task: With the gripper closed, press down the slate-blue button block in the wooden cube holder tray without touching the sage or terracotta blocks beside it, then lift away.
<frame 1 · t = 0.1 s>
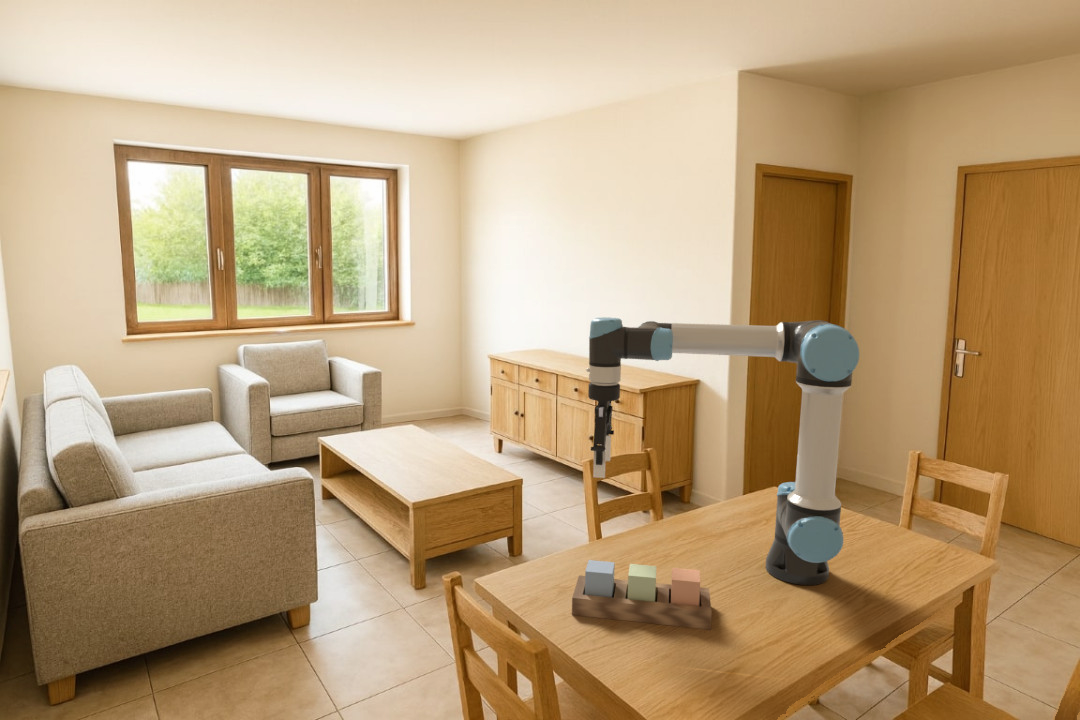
hand: (602, 468, 169), 28 cm above the table, fingers open, 13 cm apart
slate cap: (599, 581, 158), point 6 cm above the table, slide at 0.0 cm
terracotta cap: (685, 589, 155), point 6 cm above the table, slide at 0.0 cm
wooden cube holder tray: (641, 609, 157), on the table
sage cap: (642, 585, 157), point 6 cm above the table, slide at 0.0 cm
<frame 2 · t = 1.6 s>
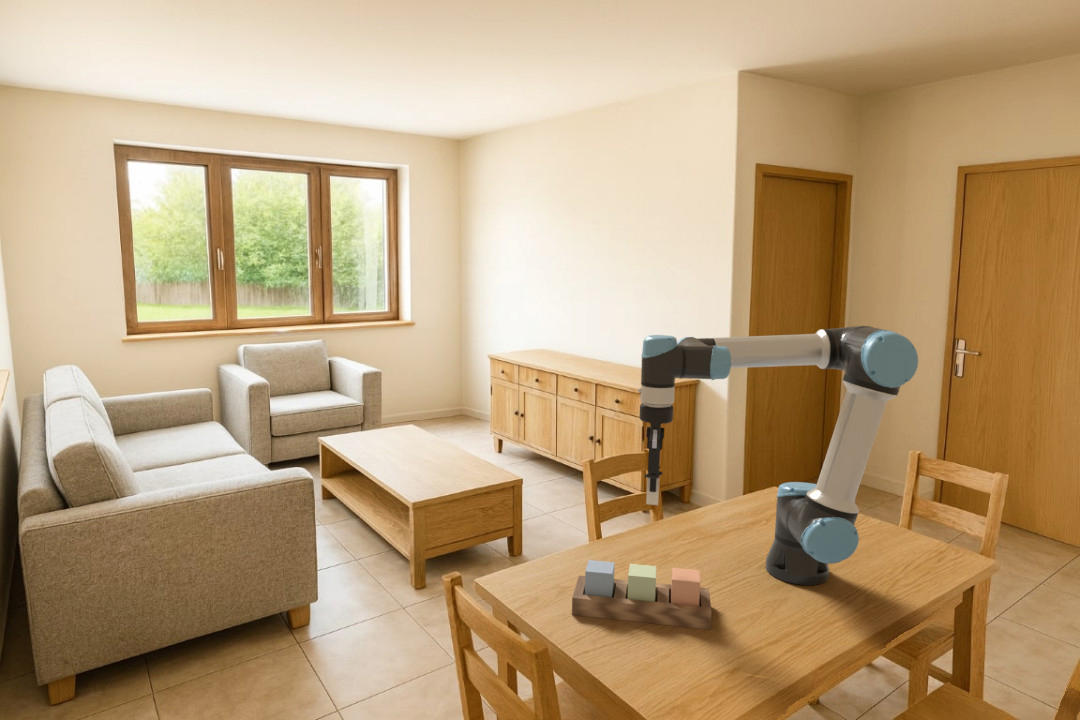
hand: (652, 503, 161), 22 cm above the table, fingers closed
nothing on the table moved.
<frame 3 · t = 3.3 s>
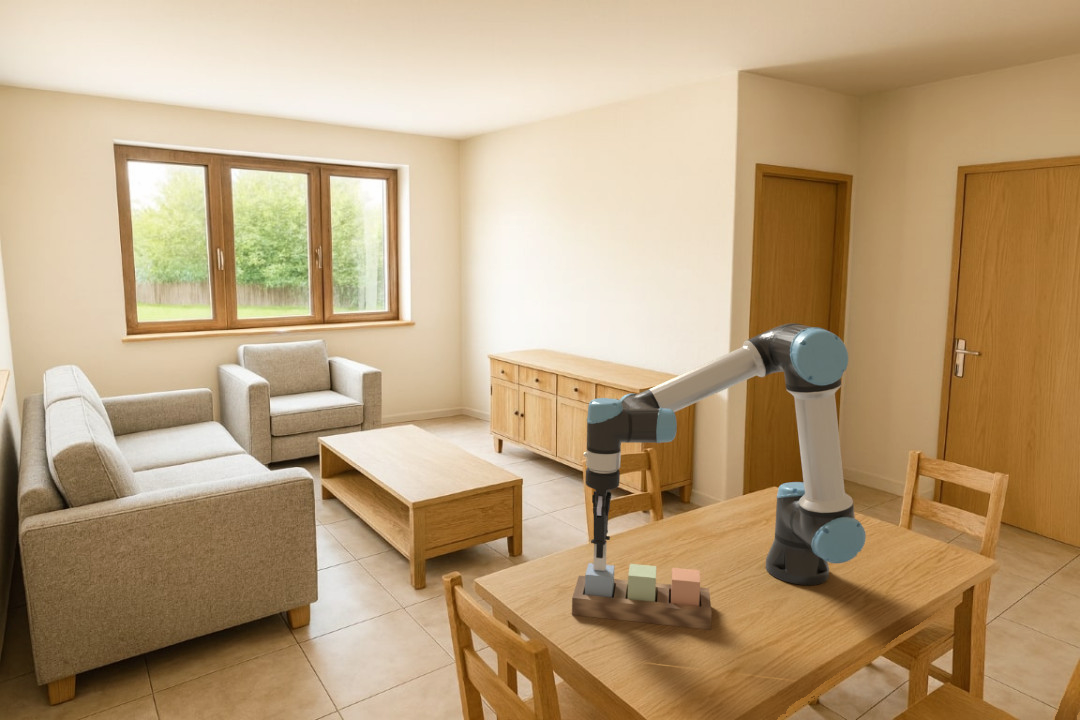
hand: (599, 568, 158), 9 cm above the table, fingers closed
slate cap: (599, 584, 158), point 5 cm above the table, slide at 0.8 cm, touching gripper
everything else where it was.
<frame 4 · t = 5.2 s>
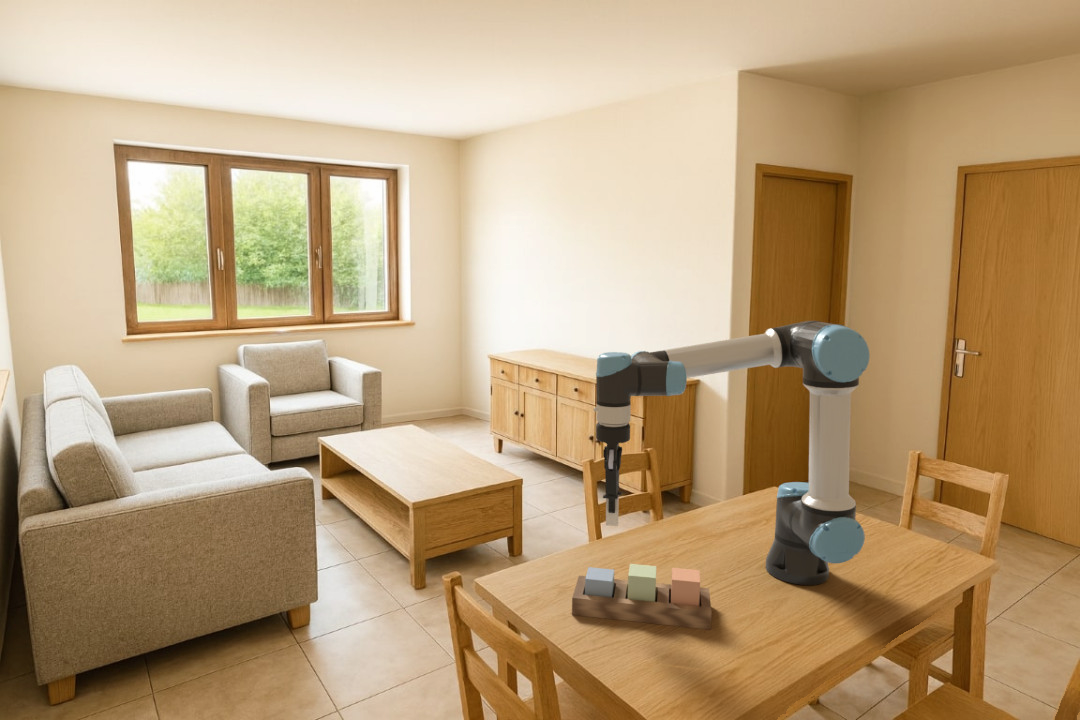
hand: (612, 524, 158), 19 cm above the table, fingers closed
slate cap: (599, 588, 159), point 4 cm above the table, slide at 1.8 cm
everything else where it was.
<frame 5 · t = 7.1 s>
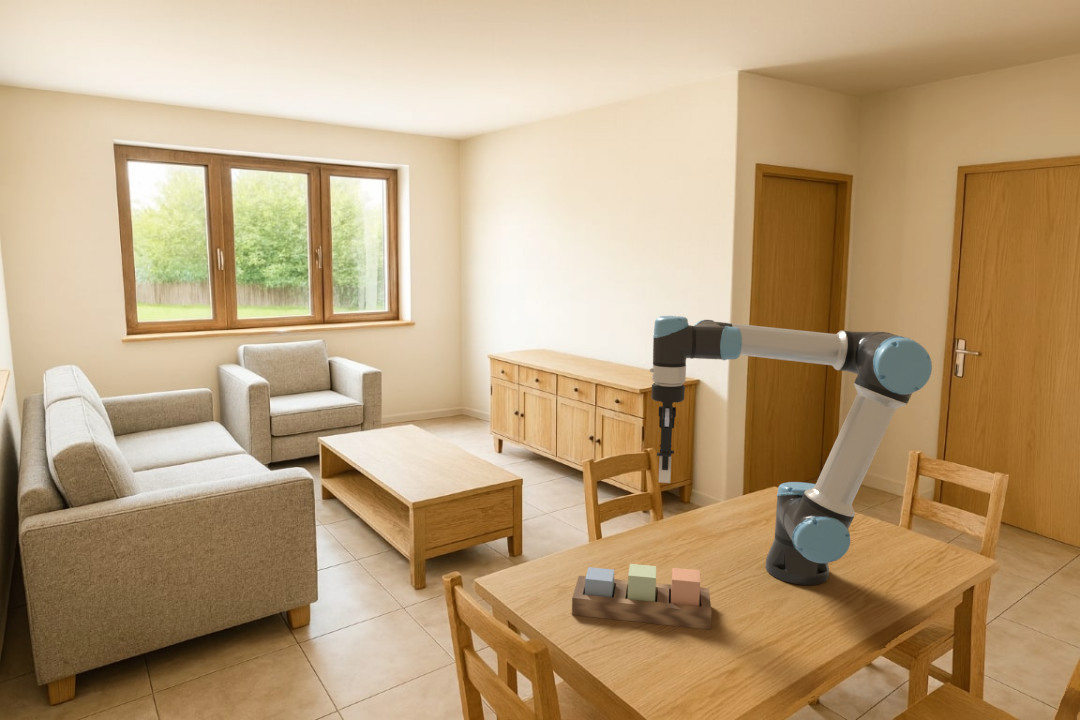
hand: (664, 481, 164), 26 cm above the table, fingers closed
nothing on the table moved.
at the end: slate cap slide at 1.8 cm; sage cap slide at 0.0 cm; terracotta cap slide at 0.0 cm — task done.
